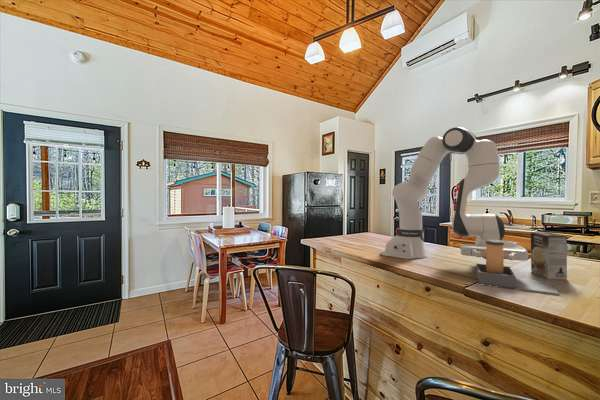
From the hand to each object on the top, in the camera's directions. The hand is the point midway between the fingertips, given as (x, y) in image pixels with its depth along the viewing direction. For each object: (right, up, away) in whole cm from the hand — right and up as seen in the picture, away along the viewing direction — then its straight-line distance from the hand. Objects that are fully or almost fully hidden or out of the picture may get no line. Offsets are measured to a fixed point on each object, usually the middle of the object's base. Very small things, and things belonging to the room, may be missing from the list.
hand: (494, 256), depth 89 cm
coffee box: (+25, -9, +6) cm, 27 cm away
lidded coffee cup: (+1, -9, +1) cm, 9 cm away
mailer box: (+5, -9, -2) cm, 11 cm away
